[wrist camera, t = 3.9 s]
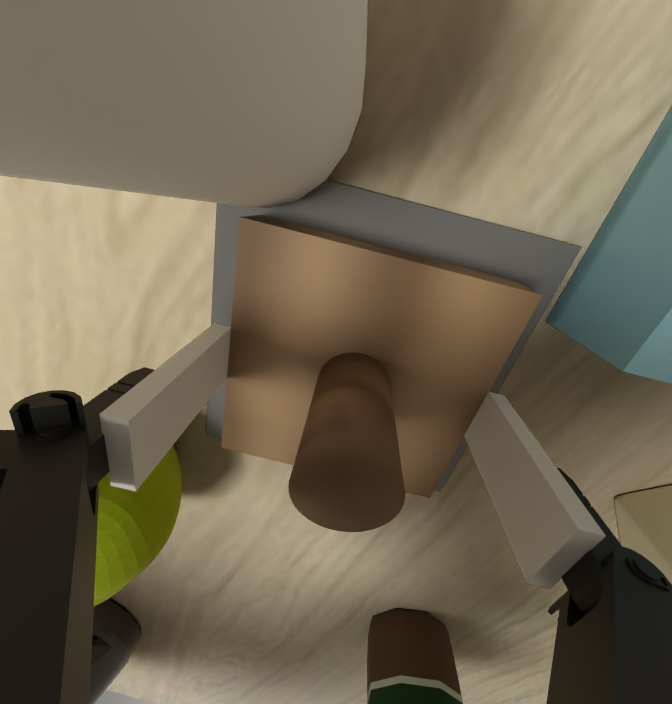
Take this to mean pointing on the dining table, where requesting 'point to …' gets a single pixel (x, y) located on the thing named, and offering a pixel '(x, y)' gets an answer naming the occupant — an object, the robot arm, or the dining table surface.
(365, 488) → the lid cover
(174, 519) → the fruit
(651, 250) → the dish
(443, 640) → the beer bottle
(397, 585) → the dining table surface
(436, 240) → the mat
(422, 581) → the dining table surface
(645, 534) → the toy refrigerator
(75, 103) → the potion bottle
